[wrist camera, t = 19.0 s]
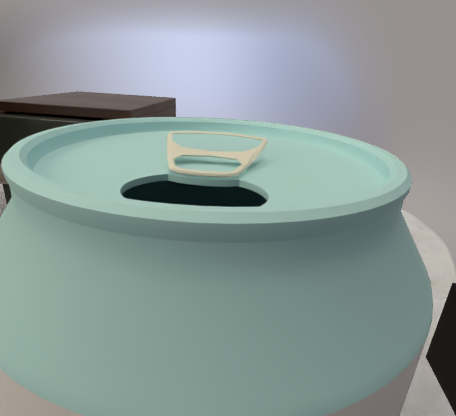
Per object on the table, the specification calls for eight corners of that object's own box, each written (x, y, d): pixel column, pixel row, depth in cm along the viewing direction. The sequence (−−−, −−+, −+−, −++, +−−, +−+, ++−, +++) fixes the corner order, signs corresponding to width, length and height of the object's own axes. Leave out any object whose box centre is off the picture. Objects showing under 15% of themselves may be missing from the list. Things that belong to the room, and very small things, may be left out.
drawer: (96, 243, 24) (84, 134, 21) (-35, 228, 26) (-63, 122, 23) (164, 179, 39) (162, 108, 36) (78, 171, 40) (70, 102, 37)
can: (378, 609, 9) (581, 175, 4) (103, 934, 6) (-286, 462, 1) (235, 399, 14) (260, 108, 10) (52, 495, 11) (-41, 113, 6)
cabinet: (136, 222, 30) (130, 110, 26) (16, 209, 31) (-6, 100, 28) (176, 179, 42) (175, 97, 38) (87, 171, 43) (78, 91, 39)
